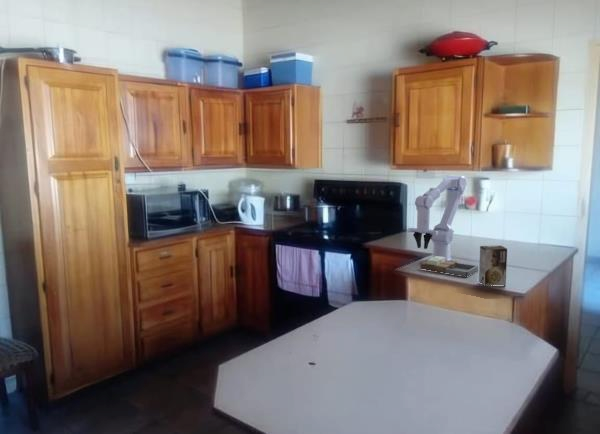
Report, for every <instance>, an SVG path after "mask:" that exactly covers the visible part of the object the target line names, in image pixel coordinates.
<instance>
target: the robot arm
mask: <svg viewBox="0 0 600 434" xmlns="http://www.w3.org/2000/svg"><path fill="white" fill-rule="evenodd" d="M467 185H468V184H467V180H466V177H465V176H463V175H461V176H459V175H446V176H445V177H443V180H442V181H441V182H440V183H439V184H438V185H437V186H436V187H430V188H429V189H428V190H427V191H426V192H424V193H423V194H422V195H418V196H417V197H416V198H415V201H414V206H415V207H416V213H417V216H416V227H408V231H407V232H408V233H413V235H412V236H413V237H414V240H415V242H416V247H417V249H420V248H422V238H423V242H424V243H423V250H427V249H428V247H429V243H430V240H431V242H432V243H433V255H432V258H433V257H435V256H440V257H445V260H449V261H453V258H451V250H452V247H451V242H452V241H453V236H454V235H453V234H454V230H453V228H452V227H451V226H452V223H453V221H454V219H455V215H456V213H457V210H458V208H459V205H460V202H461V199H462V197H463V195H464V192H465V191H466V187H467ZM445 191H446V192H447V193H448V194H449V195H450V196H449V199H448V200H447V204H446V206H445V209H444V212H443V215H442V217H441V220H440V221H439V223H437V224H436V225H434V227H433V229H431V228H430V215H431V214H430V209H431V208H432V206H433V204H434V202H435V201H436V200H438V199H439V198H440V196H441V194H442V193H443V192H445ZM422 236H423V237H422Z"/></svg>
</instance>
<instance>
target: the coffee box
mask: <svg viewBox="0 0 600 434" xmlns="http://www.w3.org/2000/svg"><path fill="white" fill-rule="evenodd" d="M507 264H508V248H506V247H505V246H503V245H480V246H479V266H478V283H479V282H480V283H482V284H483V285H484V286H491V285H492V286H493V285H506V286H507ZM480 283H479V284H480ZM483 285H482V286H483ZM484 286H483V287H484Z"/></svg>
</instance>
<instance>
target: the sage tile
mask: <svg viewBox="0 0 600 434" xmlns="http://www.w3.org/2000/svg"><path fill="white" fill-rule="evenodd" d="M426 261H427V264H430V265H439V264H440V262H441V259H434V258H433V257H431V258H428V259H427V260H426Z"/></svg>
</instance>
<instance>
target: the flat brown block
mask: <svg viewBox="0 0 600 434" xmlns="http://www.w3.org/2000/svg"><path fill="white" fill-rule="evenodd" d="M457 263H458V261H456V260H450V261H449V260H445V262H443V263H440V264H439V265H430V264H427V260H425V261H423V262H421V263H420V269H426V270H431V271H437V272H443V273H446V268H447V269H454V268H456V267H457Z"/></svg>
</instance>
